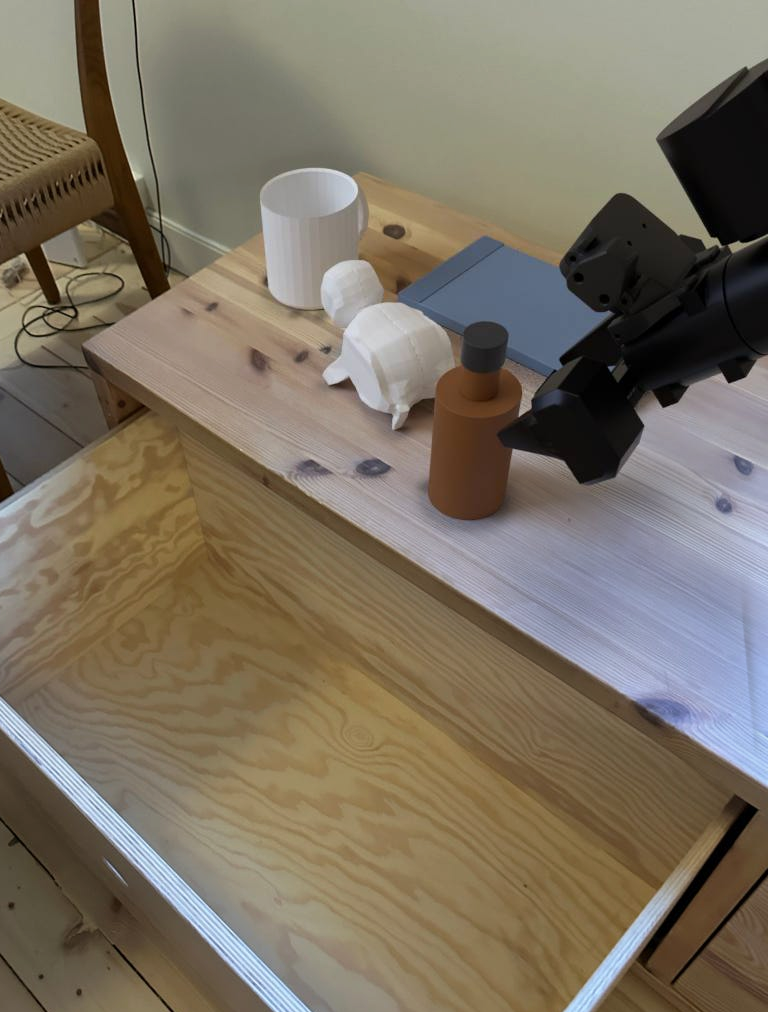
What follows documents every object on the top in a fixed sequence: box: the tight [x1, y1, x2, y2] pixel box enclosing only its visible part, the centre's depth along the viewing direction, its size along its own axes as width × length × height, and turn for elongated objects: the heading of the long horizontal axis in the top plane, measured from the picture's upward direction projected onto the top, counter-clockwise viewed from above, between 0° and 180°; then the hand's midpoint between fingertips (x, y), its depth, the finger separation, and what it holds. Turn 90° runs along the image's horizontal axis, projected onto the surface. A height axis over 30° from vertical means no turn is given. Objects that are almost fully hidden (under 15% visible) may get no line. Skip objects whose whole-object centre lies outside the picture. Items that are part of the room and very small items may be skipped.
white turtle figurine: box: [321, 259, 456, 431], centre depth 77 cm, size 9×8×15 cm
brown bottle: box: [427, 321, 523, 521], centre depth 65 cm, size 6×6×14 cm
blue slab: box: [397, 234, 615, 378], centre depth 83 cm, size 25×13×1 cm, turn 45°
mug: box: [259, 167, 370, 311], centre depth 86 cm, size 12×9×9 cm
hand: (532, 400), depth 61 cm, fingers open, 9 cm apart
